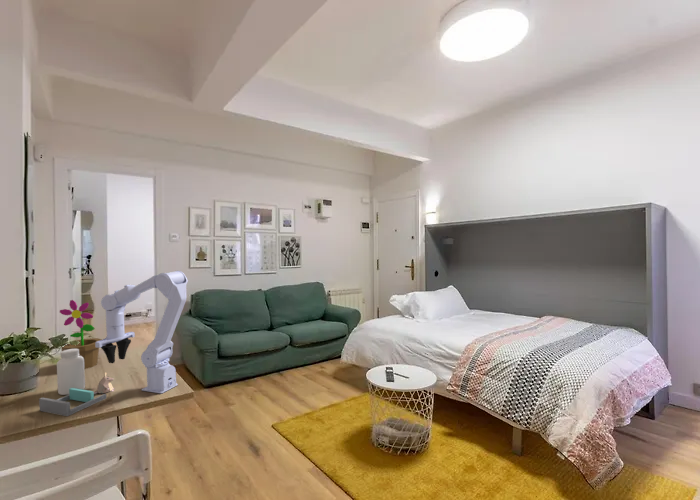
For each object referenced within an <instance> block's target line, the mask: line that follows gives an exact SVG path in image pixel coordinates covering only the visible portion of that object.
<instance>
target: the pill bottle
mask: <svg viewBox="0 0 700 500" xmlns="http://www.w3.org/2000/svg"><path fill="white" fill-rule="evenodd" d="M78 355H79V349H68V350H64V351H62V350H61V351H60V359H59V360H58V361H57V362H56V376H57V379H56V380H57V392H58V393H57V394H58V395H61V396H67V395H69V389H71V388H76V389H82V390H85V389H86V375H85V372H86V371H85V370H86V369H84V358H83V357H82V356H78Z"/></svg>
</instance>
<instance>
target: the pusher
mask: <svg viewBox="0 0 700 500" xmlns="http://www.w3.org/2000/svg"><path fill="white" fill-rule="evenodd" d="M94 392H95V391H94V390H93V391H92V390H89V389H88V390H87V389H83V390H82V389H76V388H71V389H69V396H70V399H69V400H71V401H72V400H73V401H77V402H82V403H86V402H88V401H90V400H92V399H95V394H94Z"/></svg>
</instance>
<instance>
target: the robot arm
mask: <svg viewBox="0 0 700 500" xmlns="http://www.w3.org/2000/svg"><path fill="white" fill-rule="evenodd" d="M188 282H189V279H188V278H187V276H186V274H185V273H184V272H183V271H181V270H175V271H171V272H161V273H158V274H156V275H153V276H151V277H149V278H148V279H145V280H144V281H143V282H141V283H139V284H137V285H135V284H125V285H124V286H123V287H124V288H121V289H120V290H119V289H117V290H114V292H113V293H111V294H110V293H109V294H105V295H104V296H103V297H102V299H101V301H100V302H101V303H100V304H101V307H102V308H103V309H104V310H105V324H106V325H105V327H106V328H105V329H106V330H105V331H106V336H105V338H101V339H102V340H100V341H97V342H95V347H97V348H99V349H100V348H101V350H102V351H103V353H104V354H105V356H106V359H107V361H108V362H107V363H109V364H115V360H116V350H117V355H118V359H119V360H125V358H126V354H127V351H128V348H129V346H130V344H131V343H132V340H131V338H135V337H136V335H135V331H128V332H125V330H126V329H125V311H126V305H127V304H129V303H131V302H134V301H136V300H138V299H139V298H140V297H141V294H143V293H145V292H147V291H149V290H151V289H157V290H158V291H159V292H160V293H161V294H162V295H163V296H164V297H165V299H167V300H168V302H167V305H166V307H165V309H164V313H163V315H162V317H161V321H160V324H159V326H158V329H157V331H156V334H155V336H154V338H153V340H152V341H151V342H150V343H149V344H148V345H147V347H146V349H145V350H144V351H143V352H142V353H141V356H140V360H141V362H142V364H143V366H144V367H145V368H146V385H147V386H145V387H144V388H141V391H142V392H148V393H149V392H150V393H156V394H164V393H166V392H167V391H170V390H171V389H174V388H175V387H176V386H178V385H179V384H178V383H177V372H176V371H177V370H176V367H175V366H174V365H171V364H170V363H169V362H170V359H171V357H172V356H173V346H174V342H173V341H172V338H173V335H174V333H175V330H176V327H177V326H178V323H179V319H180V318H181V314H182V312H183V309H184V307H185V304H186V301H187V299H188V298H187V294H188V293H187V286H188V285H187V284H188ZM114 343H116V344H115V345H114Z"/></svg>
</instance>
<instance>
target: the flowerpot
mask: <svg viewBox="0 0 700 500" xmlns="http://www.w3.org/2000/svg"><path fill="white" fill-rule="evenodd" d="M89 305H90V304H89V302H85V303H82V304H81V305H80V306H79V307H78V304H77V302H76V301H75V300H73V299H71V300H69V307H70V309H71V310H70V309H65V308H63V309H59V313H60V314H61V315H62V316H69V317H67V318H66V319H65V321H64V323H63V325H64V326H68V325H71V324H72V323H73V322H74V321H75V323H76V324H75V325H76V326H77V327H78V328H80V332H74V333H72V334H70V335H69V336H70V338H71V337H72V338H80V339H77V341H79V342H80V343H79V344H78V345H76V346H75V345H71V344H67V345H65V346H64V347H62V346H61V352H62V351H64V350H68V349H79V355H78V356H82V357H83V358H84V370H86V369H90V368H93V367H95V366H97V365H98V362H99V360H98V359H99V352H100V348H97V347H95V342H97V341H100V340H102V339H103V338H98V337H97V338H96V337H95V338H93V337H91V338H90V337H89V338H84V332H92V331H94V330H95V327H94V326H93V325H91V324H87V323H86V324H84V321H83V319H87V320H90V319H93V317H94V315H93V314H91V313H90V312H84V311H86V310H87V309H88V307H89Z"/></svg>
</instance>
